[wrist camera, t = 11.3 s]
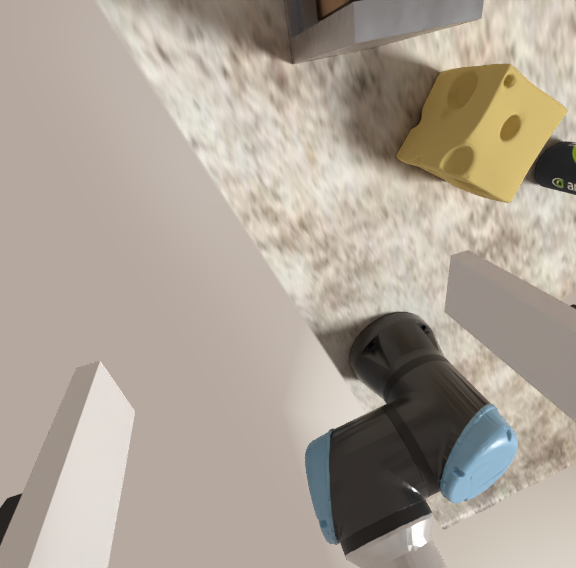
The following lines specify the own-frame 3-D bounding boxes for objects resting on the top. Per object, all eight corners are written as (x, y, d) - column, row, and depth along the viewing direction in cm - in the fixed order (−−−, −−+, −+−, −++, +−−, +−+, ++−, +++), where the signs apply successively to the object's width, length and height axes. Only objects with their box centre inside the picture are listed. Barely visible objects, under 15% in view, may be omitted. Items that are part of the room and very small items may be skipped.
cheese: (392, 158, 40) (445, 174, 32) (440, 63, 36) (515, 52, 28) (449, 186, 44) (509, 207, 36) (498, 104, 40) (579, 106, 32)
